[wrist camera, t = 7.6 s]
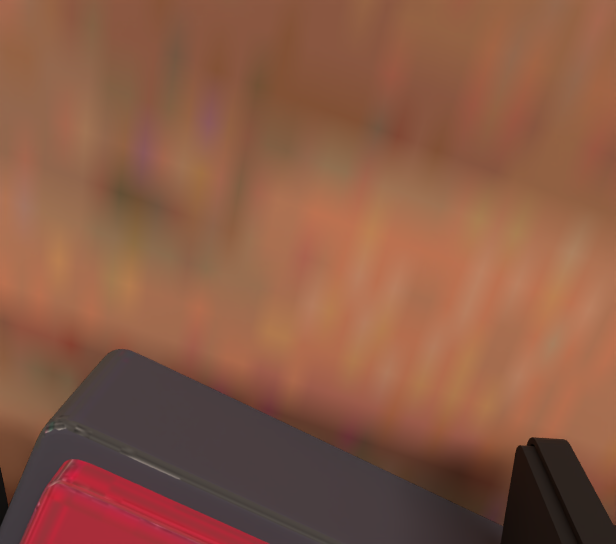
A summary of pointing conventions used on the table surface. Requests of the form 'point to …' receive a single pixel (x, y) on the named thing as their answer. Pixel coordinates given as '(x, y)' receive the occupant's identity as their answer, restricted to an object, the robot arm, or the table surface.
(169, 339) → the table surface
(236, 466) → the calculator
